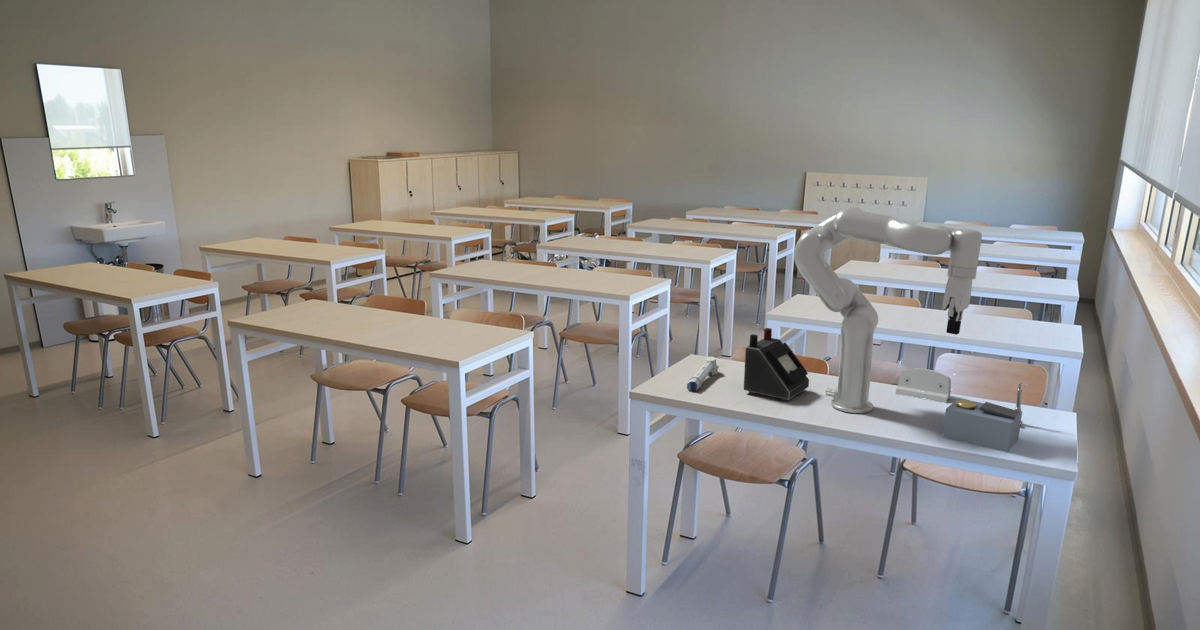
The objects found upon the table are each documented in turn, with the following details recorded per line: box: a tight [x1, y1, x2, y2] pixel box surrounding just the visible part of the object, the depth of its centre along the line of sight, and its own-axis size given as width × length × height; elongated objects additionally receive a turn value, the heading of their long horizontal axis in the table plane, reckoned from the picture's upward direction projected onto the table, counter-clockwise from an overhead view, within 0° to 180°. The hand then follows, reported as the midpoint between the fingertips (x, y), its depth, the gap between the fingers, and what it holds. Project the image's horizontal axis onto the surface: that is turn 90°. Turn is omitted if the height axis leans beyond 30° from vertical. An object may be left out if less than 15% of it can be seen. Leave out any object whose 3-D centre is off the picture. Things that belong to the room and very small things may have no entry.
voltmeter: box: [743, 327, 810, 403], centre depth 257 cm, size 16×16×20 cm
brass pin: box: [956, 399, 976, 410], centre depth 222 cm, size 5×5×10 cm
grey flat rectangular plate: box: [979, 401, 1020, 420], centre depth 216 cm, size 9×6×1 cm, turn 49°
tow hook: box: [1014, 382, 1023, 428], centre depth 232 cm, size 8×13×9 cm
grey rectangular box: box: [942, 398, 1023, 453], centre depth 220 cm, size 17×12×8 cm
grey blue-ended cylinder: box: [686, 356, 720, 393], centre depth 271 cm, size 5×7×25 cm
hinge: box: [895, 367, 952, 404], centre depth 256 cm, size 17×5×10 cm, turn 55°
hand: (952, 333), depth 228 cm, fingers closed
